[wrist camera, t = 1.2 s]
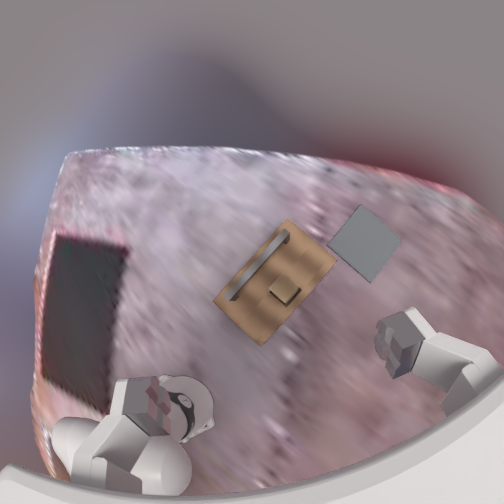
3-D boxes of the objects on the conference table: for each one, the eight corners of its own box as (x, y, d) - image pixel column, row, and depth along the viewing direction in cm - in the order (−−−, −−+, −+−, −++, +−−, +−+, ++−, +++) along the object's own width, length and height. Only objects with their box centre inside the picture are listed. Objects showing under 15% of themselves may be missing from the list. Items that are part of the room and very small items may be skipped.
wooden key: (286, 303, 60) (284, 303, 45) (274, 292, 61) (268, 288, 46) (297, 291, 60) (299, 286, 45) (285, 280, 61) (283, 271, 46)
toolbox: (264, 341, 63) (256, 351, 49) (221, 302, 66) (203, 300, 52) (332, 265, 64) (342, 254, 50) (288, 228, 67) (286, 208, 53)
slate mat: (370, 283, 62) (370, 282, 61) (327, 245, 65) (327, 245, 64) (401, 240, 62) (401, 239, 62) (360, 205, 66) (360, 204, 65)
